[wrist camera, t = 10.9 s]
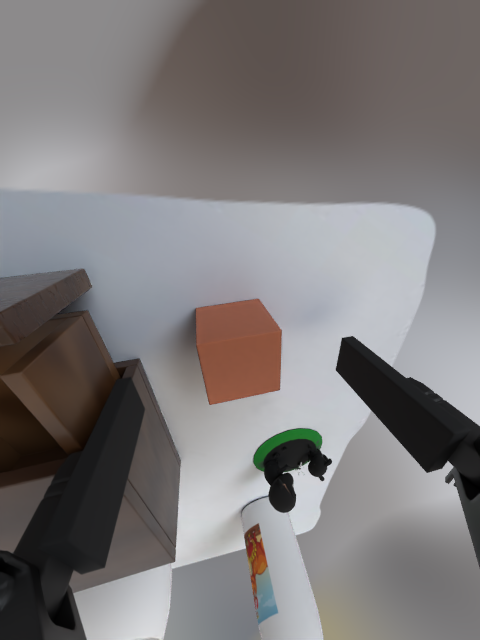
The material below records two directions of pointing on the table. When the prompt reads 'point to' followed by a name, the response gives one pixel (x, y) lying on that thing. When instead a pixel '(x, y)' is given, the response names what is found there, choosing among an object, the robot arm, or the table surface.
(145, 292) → the table surface
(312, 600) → the milk bottle
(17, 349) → the drawer
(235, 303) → the block
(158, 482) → the cabinet
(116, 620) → the cup
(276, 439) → the toy figurine
